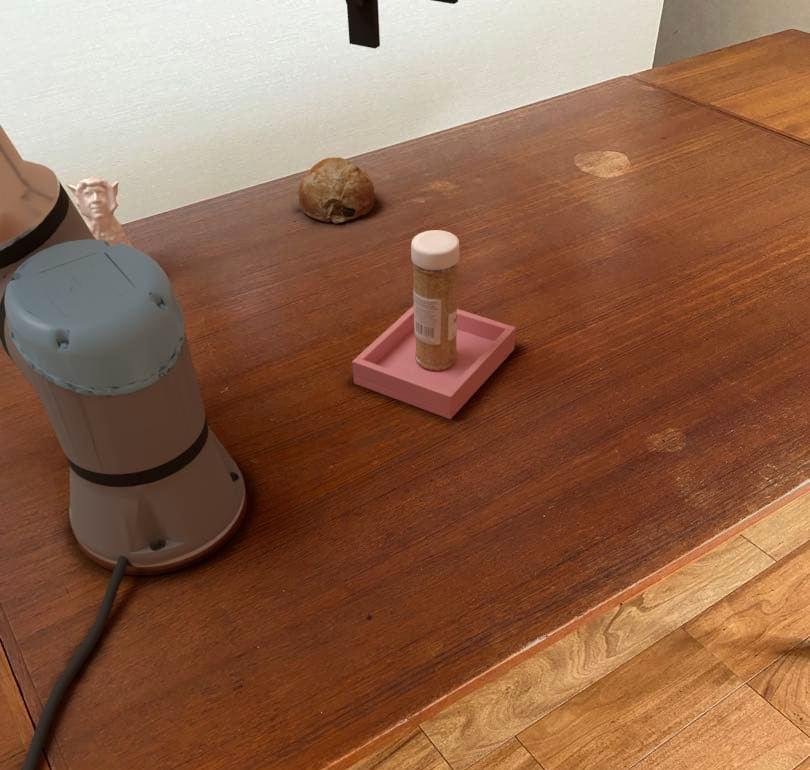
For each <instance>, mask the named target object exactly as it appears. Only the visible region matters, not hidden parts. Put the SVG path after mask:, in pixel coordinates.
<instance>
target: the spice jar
mask: <svg viewBox="0 0 810 770" xmlns="http://www.w3.org/2000/svg"><path fill="white" fill-rule="evenodd" d="M410 257H411V258H410V259H411V262H412V266H413V267H412V268H413V270H412V271H413V287H412V288H413V289H412V293H413V294H412V295H413V306H414V330H415V337H416V353H415V360H416V362H417V364H418V365H420V366H421V367H423V368H426V369H429V370H443V369H446V368H449V367H451V366H452V365H453V364H454V363H455V362H456V360H457V351H456V346H457V345H456V337H457V309H458V264H459V260H460V240H459V238H458V237H457V235H456V234H454V233H452V232H449V231H447V230H441V229H432V230H431V229H430V230H425V231H422V232H419V233H418V234H416V235H415V236H414V237H413V238H412V240H411V243H410Z"/></svg>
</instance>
